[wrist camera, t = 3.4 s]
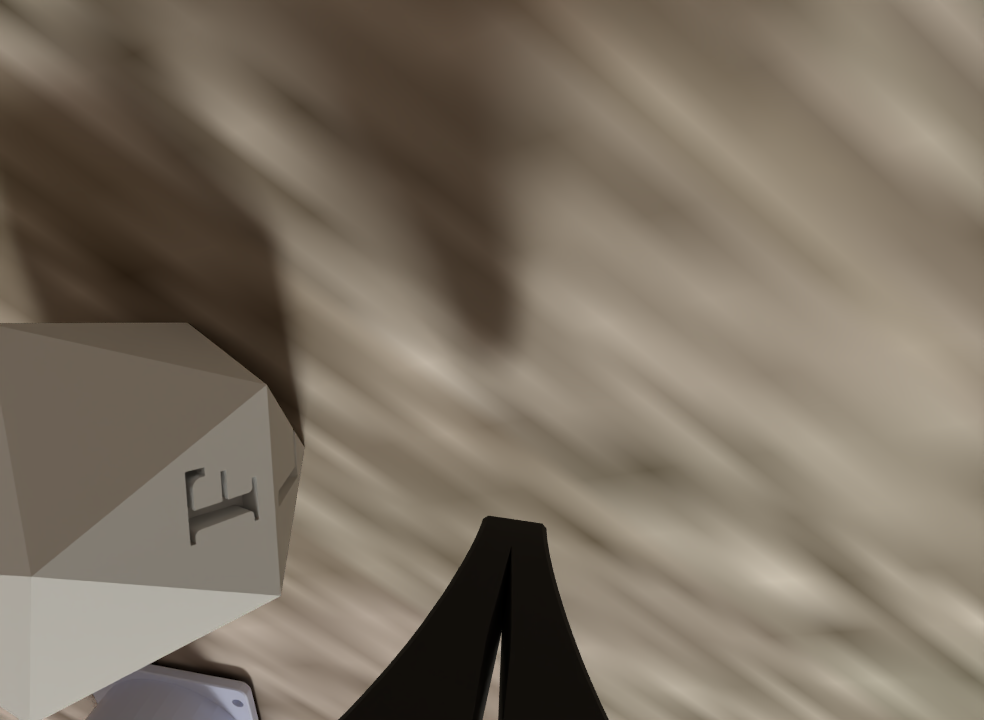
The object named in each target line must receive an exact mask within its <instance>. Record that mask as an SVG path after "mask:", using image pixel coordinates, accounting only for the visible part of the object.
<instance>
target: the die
mask: <svg viewBox="0 0 984 720" xmlns="http://www.w3.org/2000/svg"><path fill="white" fill-rule="evenodd" d="M303 455H304V446H303V444H302V443H301V441H300V439H299V438H298V436H297V434H296V433H295V431H294V430H293V428H292V426H291V424H290V423H289V421H288V419H287V418H286V416H285V414H284V413H283V411H282V409H281V408H280V406H279V404H278V403H277V401H276V399H275V398H274V396H273V394H272V393H271V391H270V389H269V388H268V386H267V385H266V384H265V383H264V382H263V381H261V380H260V379H259V378H257V377H256V376H255V375H254V374H252V373H251V372H250V371H248V370H247V369H246V368H245V367H243V366H242V365H241V364H240V363H238V362H237V361H236V360H234V359H233V358H232V357H231V356H229V355H228V354H227V353H226V352H224V351H223V350H222V349H220V348H219V347H218V346H217V345H215V344H214V343H213V342H211V341H210V340H209V339H208V338H206V337H205V336H204V335H203V334H201V333H200V332H199V331H197V330H196V329H195V328H194V327H192V326H191V325H190V324H188V323H0V707H2V708H3V709H5V710H6V711H8V712H9V713H11V714H12V715H14V716H15V717H17V718H18V719H20V720H42V719H44V718H46V717H48V716H50V715H52V714H54V713H56V712H58V711H60V710H62V709H64V708H66V707H67V706H69V705H71V704H73V703H75V702H77V701H79V700H81V699H83V698H85V697H87V696H89V695H91V694H93V693H94V692H96V691H98V690H100V689H102V688H104V687H106V686H108V685H110V684H112V683H114V682H116V681H118V680H120V679H121V678H123V677H125V676H127V675H129V674H131V673H133V672H135V671H137V670H139V669H141V668H143V667H145V666H147V665H148V664H150V663H152V662H154V661H156V660H158V659H160V658H162V657H164V656H166V655H168V654H170V653H172V652H174V651H175V650H177V649H179V648H181V647H183V646H185V645H187V644H189V643H191V642H193V641H195V640H197V639H199V638H201V637H202V636H204V635H206V634H208V633H210V632H212V631H214V630H216V629H218V628H220V627H222V626H224V625H226V624H228V623H229V622H231V621H233V620H235V619H237V618H239V617H241V616H243V615H245V614H247V613H249V612H251V611H253V610H254V609H256V608H258V607H260V606H262V605H264V604H266V603H268V602H270V601H272V600H274V599H276V598H278V597H280V596H281V591H282V585H283V579H284V573H285V567H286V560H287V554H288V548H289V542H290V536H291V529H292V523H293V517H294V511H295V504H296V498H297V492H298V486H299V480H300V473H301V467H302V461H303Z"/></svg>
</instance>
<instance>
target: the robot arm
mask: <svg viewBox="0 0 984 720" xmlns="http://www.w3.org/2000/svg"><path fill="white" fill-rule="evenodd" d="M501 632H502V640H501V665H500V691H499V716H498V720H609V719H608V717H607V715H606V713H605V711H604V709H603V707H602V705H601V702H600V700H599V698H598V696H597V693H596V691H595V689H594V687H593V684H592V682H591V680H590V677H589V675H588V673H587V670H586V668H585V665H584V663H583V660H582V658H581V655H580V653H579V650H578V647H577V645H576V642H575V639H574V637H573V634H572V631H571V628H570V625H569V622H568V619H567V617H566V613H565V610H564V607H563V604H562V600H561V597H560V594H559V591H558V587H557V583H556V580H555V576H554V572H553V568H552V563H551V559H550V554H549V548H548V542H547V532H546V528H545V526H544V525H543V524H541V523H534V522H528V521H521V520H514V519H507V518H501V517H494V516H487V517H485V518H484V519H483V521H482V523H481V526H480V529H479V531H478V533H477V536H476V538H475V540H474V542H473V544H472V546H471V548H470V550H469V551H468V553H467V555H466V557H465V559H464V561H463V562H462V564H461V566H460V567H459V569H458V571H457V572H456V574H455V575H454V577H453V579H452V580H451V582H450V584H449V585H448V587H447V588H446V590H445V592H444V593H443V595H442V596H441V597H440V599H439V600H438V602H437V603H436V605H435V606H434V607H433V609H432V610H431V612H430V613H429V614H428V616H427V617H426V619H425V620H424V622H423V623H422V624H421V626H420V627H419V628H418V630H417V631H416V632H415V634H414V635H413V636H412V637H411V639H410V640H409V641H408V643H407V644H406V645H405V646H404V648H403V649H402V650H401V651H400V652H399V654H398V655H397V656H396V657H395V658H394V660H393V661H392V662H391V663H390V664H389V666H388V667H387V668H386V669H385V670H384V671H383V672H382V674H381V675H380V676H379V677H378V678H377V679H376V680H375V681H374V683H373V684H372V685H371V686H370V687H369V688H368V689H367V690H366V691H365V693H364V694H363V695H362V696H361V697H360V698H359V699H358V700H357V701H356V702H355V703H354V704H353V705H352V706H351V707H350V708H349V710H348V711H347V712H346V713H345V714H344V715H343V716H342V717H340V718H339V719H338V720H482V719H483V715H484V710H485V705H486V701H487V696H488V692H489V687H490V683H491V678H492V673H493V669H494V664H495V659H496V655H497V650H498V646H499V641H500V636H501ZM93 695H94V697H95V699H96V701H97V703H98V704H97V706H96V707H95V708H94V709H93V711H92V712H91V713H90V714H89V716H88V717H87V718H86V719H85V720H258V716H257V712H256V708H255V704H254V699H253V695H252V691H251V688H250V686H248V685H247V684H246V683H244V682H241V681H237V680H232V679H227V678H221V677H216V676H211V675H205V674H200V673H195V672H189V671H184V670H179V669H174V668H168V667H163V666H158V665H152V664H148V665H147V666H145V667H143V668H141V669H139V670H137V671H135V672H133V673H131V674H129V675H127V676H125V677H123V678H121V679H120V680H118V681H116V682H114V683H112V684H110V685H108V686H106V687H104V688H102V689H100V690H98V691H96V692H94V693H93Z"/></svg>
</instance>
